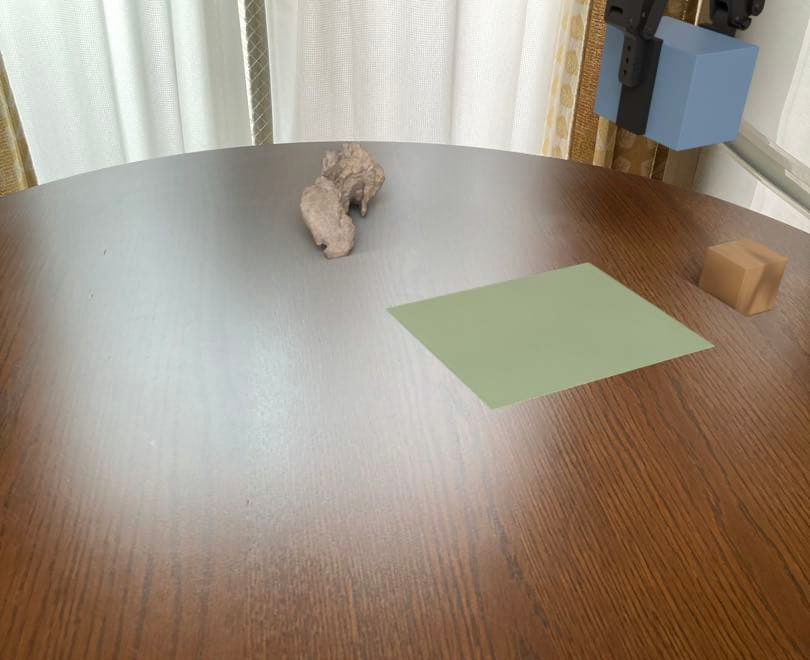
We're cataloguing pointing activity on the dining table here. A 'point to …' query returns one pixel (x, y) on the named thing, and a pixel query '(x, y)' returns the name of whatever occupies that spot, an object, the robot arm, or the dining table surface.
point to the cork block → (743, 275)
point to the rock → (340, 196)
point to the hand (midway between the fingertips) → (663, 123)
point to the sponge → (685, 84)
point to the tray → (544, 333)
